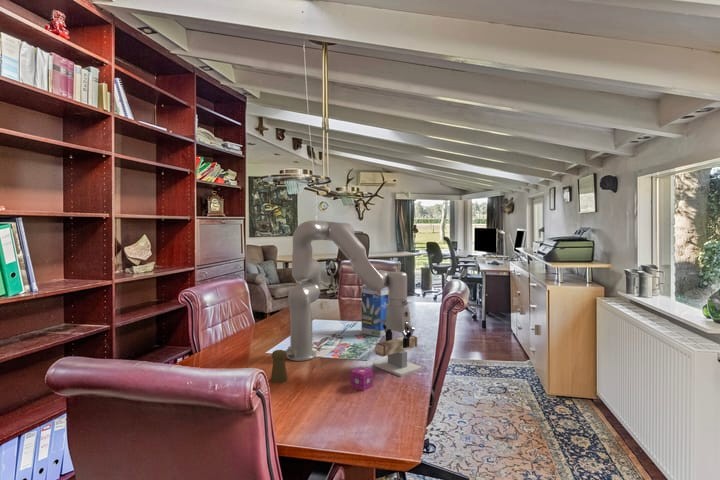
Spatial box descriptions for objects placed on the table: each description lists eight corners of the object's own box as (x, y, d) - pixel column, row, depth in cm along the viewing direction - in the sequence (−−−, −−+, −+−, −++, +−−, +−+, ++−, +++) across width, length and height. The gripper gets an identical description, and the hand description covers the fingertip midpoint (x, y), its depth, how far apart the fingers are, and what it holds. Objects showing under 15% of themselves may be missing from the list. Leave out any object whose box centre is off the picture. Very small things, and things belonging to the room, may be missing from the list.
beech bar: (382, 356, 148) (382, 346, 148) (375, 354, 152) (375, 343, 151) (417, 346, 161) (417, 336, 161) (410, 344, 164) (410, 334, 164)
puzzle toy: (360, 382, 142) (360, 366, 142) (373, 386, 138) (373, 370, 138) (350, 387, 138) (350, 371, 137) (363, 391, 134) (363, 375, 134)
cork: (279, 384, 139) (279, 354, 139) (267, 381, 143) (267, 351, 142) (290, 379, 145) (290, 349, 144) (278, 375, 148) (278, 347, 147)
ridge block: (401, 376, 147) (401, 358, 146) (373, 365, 159) (373, 348, 159) (422, 369, 154) (422, 352, 154) (393, 358, 167) (393, 342, 166)
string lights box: (361, 332, 207) (361, 284, 206) (370, 329, 213) (370, 283, 212) (380, 337, 198) (380, 287, 197) (389, 334, 204) (389, 285, 203)
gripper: (420, 304, 151) (419, 347, 152) (389, 298, 165) (389, 338, 165) (407, 307, 147) (406, 351, 147) (376, 300, 160) (376, 341, 160)
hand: (397, 344), depth 156 cm, fingers open, 9 cm apart
